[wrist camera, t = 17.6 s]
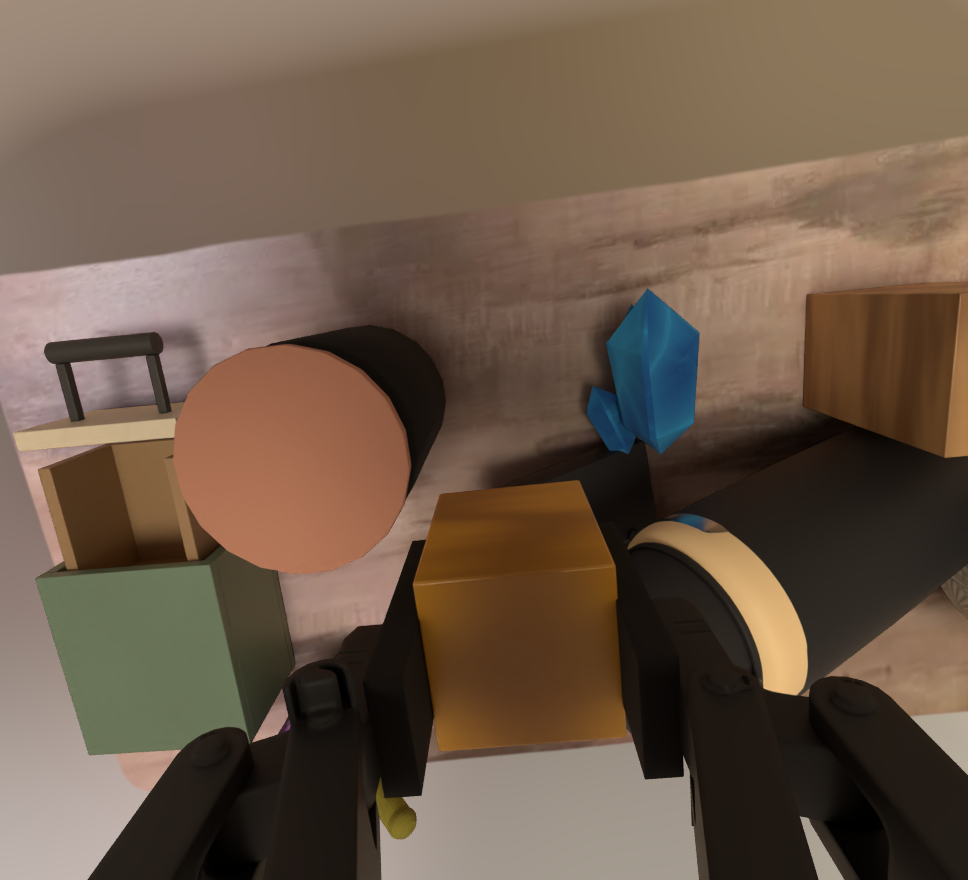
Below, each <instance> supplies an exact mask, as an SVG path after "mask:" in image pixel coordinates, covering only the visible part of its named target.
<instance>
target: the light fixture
mask: <svg viewBox="0 0 968 880" xmlns="http://www.w3.org/2000/svg"><path fill="white" fill-rule="evenodd" d="M575 480H578V481H580V483H581V486H582V488H583V490H584V493H585V495H586V497H587V500H588V502H589V504H590V507H591V509H592V512H593V514H594V516H595V519H596V521H597V523H606V522H613V523H614V525H615V527H616V529H617V531H618V533H619V535H620V537H621V539H622V541H623V543H624V545H625V547H626V549H627V551H628V553H629V555H630V557H631V559H632V561H633V563H634V565H635V567H636V569H637V571H638V573H639V575H640V577H641V579H642V581H643V583H644V586H645V588H646V590H647V592H648V594H649V596H650V598H651V599H657V598H668V597H679V596H682V597H683V598H685V599H686V600H688V601H689V602H691V603H692V604H694V605H695V606H697V607H698V609H699V610H700V612H701V614H702V615H703V617H704V618H705V622H707V623H708V625H709V626H710V628H711V631H712V632H713V633H714V634H715V636H716V637H717V639H718V641H719V642H720V644H721V645H722V647H723V649H724V650H725V652H726V653H727V655H728V657H729V658H730V660H731V661H732V663H733V664H734V665H735V666H738V667H740V668H743V669H745V670H747V671H748V672H749V673H751V674H752V675H753V676H755V677H756V679H757V680H758V682H759V684H760V685H761V688H764V689H767V690H769V691H773V692H778V693H783V694H790V695H797V696H801V695H802V694H803V693H804V692H806V691H807V690H808V689H810V687H811V685H812V684H813V683H814V682H816V681H817V680H818V679H821V678H824V677H825V676H827V675H828V674H829V673H830V672H832V671H833V670H834V669H836V668H837V667H838V666H840V665H841V664H842V663H844V662H845V661H846V660H847V659H849V658H850V657H851V656H853V655H854V654H855V653H857V652H858V651H859V650H860V649H862V648H863V647H864V646H866V645H867V644H868V643H870V642H871V641H872V640H873V639H875V638H876V637H877V636H879V635H880V634H881V633H883V632H884V631H885V630H887V629H888V628H889V627H890V626H892V625H893V624H894V623H896V622H897V621H898V620H899V619H901V618H902V617H903V616H904V615H905V614H907V613H908V612H909V611H910V610H912V609H913V608H914V607H915V606H917V605H918V604H919V603H920V602H922V601H923V600H924V599H925V598H926V597H928V596H929V595H930V594H931V593H933V592H934V591H935V590H936V589H938V588H939V587H940V586H941V585H942V584H944V583H945V582H946V581H947V580H949V579H950V578H951V577H952V576H954V575H955V574H956V573H957V572H959V571H960V570H961V569H962V568H963V567H965V566H966V565H967V564H968V456H960V457H948V458H944V457H941V456H939V455H936V454H933V453H930V452H928V451H925V450H922V449H919V448H917V447H914V446H911V445H908V444H906V443H903V442H900V441H897V440H895V439H892V438H889V437H886V436H884V435H881V434H878V433H875V432H872V431H870V430H867V429H864V428H861V427H859V426H856V427H853V428H851V429H849V430H847V431H845V432H843V433H840V434H838V435H836V436H834V437H832V438H830V439H827V440H825V441H823V442H821V443H819V444H817V445H814V446H812V447H810V448H808V449H806V450H804V451H801V452H799V453H797V454H795V455H793V456H791V457H788V458H786V459H784V460H782V461H780V462H778V463H775V464H773V465H771V466H769V467H767V468H765V469H762V470H760V471H758V472H756V473H754V474H752V475H750V476H748V477H746V478H744V479H742V480H740V481H738V482H736V483H734V484H732V485H730V486H728V487H726V488H724V489H722V490H719V491H717V492H715V493H713V494H711V495H709V496H707V497H705V498H703V499H701V500H699V501H697V502H695V503H693V504H691V505H689V506H687V507H685V508H683V509H681V510H679V511H676V512H674V513H672V514H670V515H668V516H666V517H664V518H662V519H660V520H658V521H657V518H656V511H655V505H654V498H653V492H652V486H651V479H650V473H649V466H648V460H647V453H646V447H645V442H644V441H642V440H638V439H635V440H634V443H633V446H632V448H631V450H630V452H629V454H626V453H624V452H622V451H610V450H609V449H608V447H607V446H606V444H604V445H602V446H600V447H597V448H595V449H592V450H590V451H587V452H585V453H582V454H580V455H577V456H575V457H573V458H570V459H568V460H565V461H563V462H560V463H558V464H555V465H553V466H551V467H548V468H546V469H543V470H541V471H538V472H536V473H533V474H531V475H529V476H526V477H524V478H521V479H519V480H516V481H514V482H511V483H509V484H506V485H504V486H502V487H499V488H505V487H515V486H525V485H535V484H545V483H555V482H565V481H575ZM625 715H626V714H625ZM626 729H627V730H628V731H629V732H630V733H631V730H630V727H629V724H628V720H627V717H626Z"/></svg>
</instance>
